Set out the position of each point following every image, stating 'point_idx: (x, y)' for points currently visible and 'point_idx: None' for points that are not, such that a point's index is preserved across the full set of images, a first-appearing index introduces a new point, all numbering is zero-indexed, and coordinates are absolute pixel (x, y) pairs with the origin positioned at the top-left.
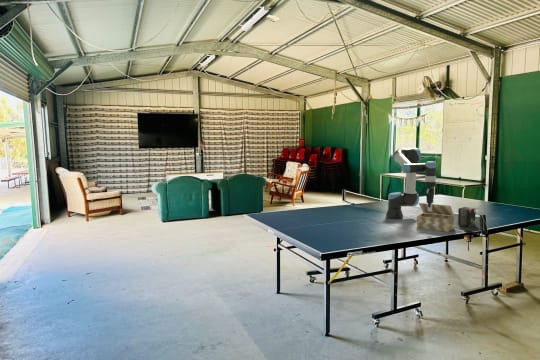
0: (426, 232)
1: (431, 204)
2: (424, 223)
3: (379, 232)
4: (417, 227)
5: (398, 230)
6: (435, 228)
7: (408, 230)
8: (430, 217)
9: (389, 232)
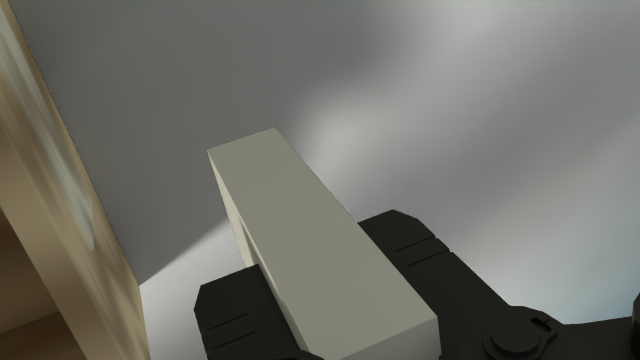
0: (293, 4)
1: (389, 276)
2: (97, 233)
3: (621, 281)
4: (135, 279)
5: None
6: (10, 18)
7: (373, 216)
8: (44, 200)
9: (576, 243)
